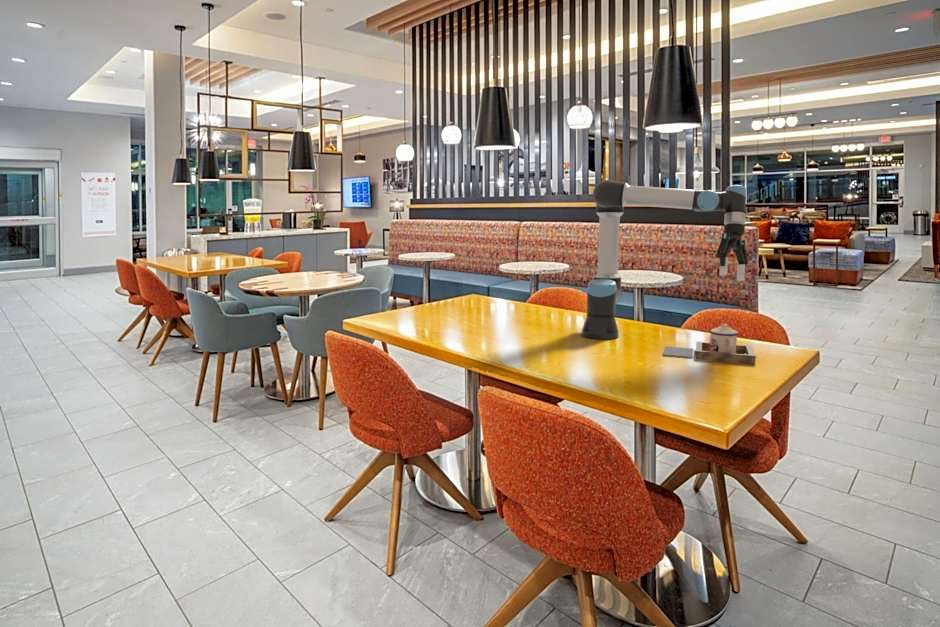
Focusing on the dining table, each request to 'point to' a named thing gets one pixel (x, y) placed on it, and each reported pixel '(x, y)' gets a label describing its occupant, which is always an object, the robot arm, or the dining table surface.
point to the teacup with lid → (723, 339)
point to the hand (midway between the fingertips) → (731, 278)
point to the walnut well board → (725, 354)
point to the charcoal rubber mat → (678, 352)
